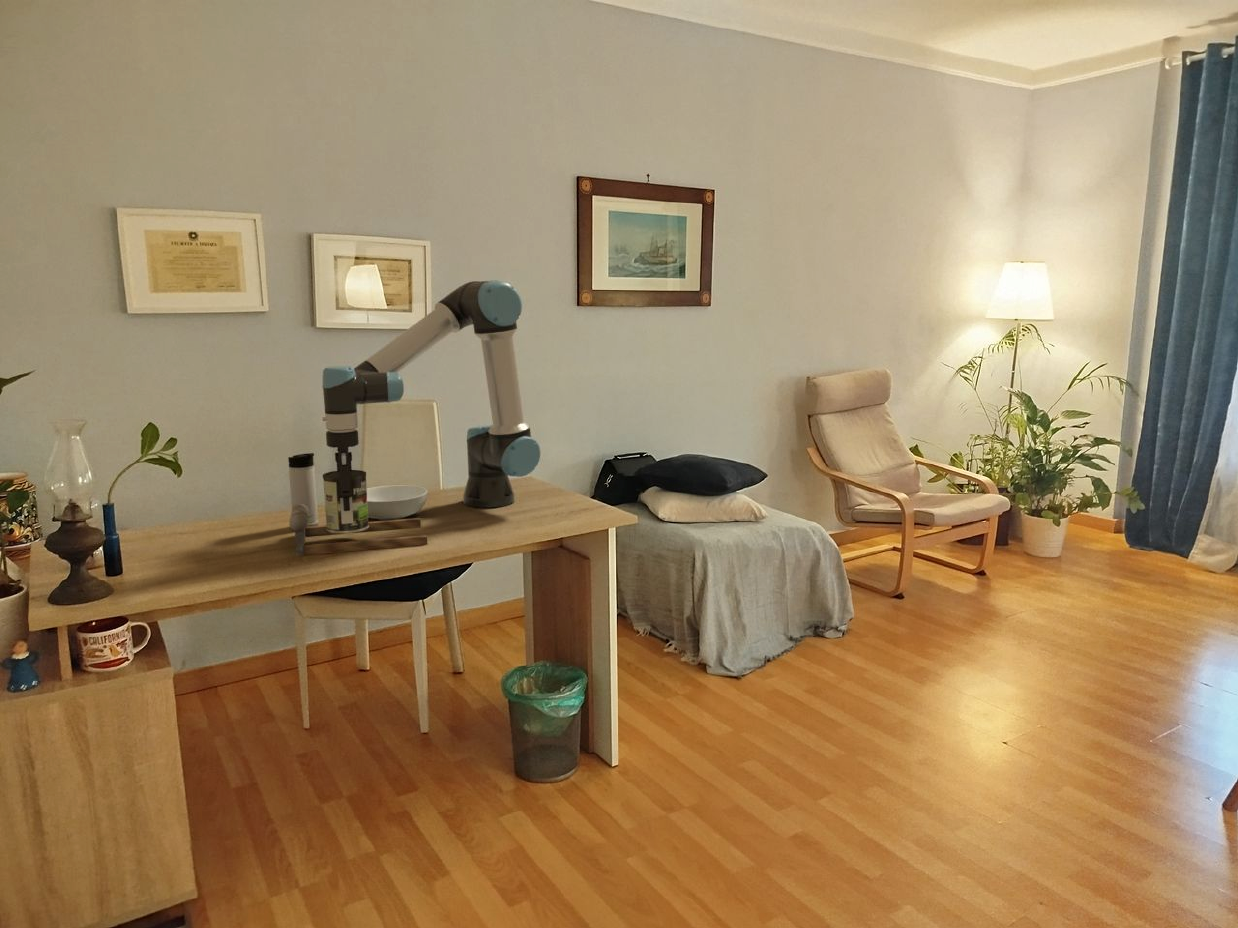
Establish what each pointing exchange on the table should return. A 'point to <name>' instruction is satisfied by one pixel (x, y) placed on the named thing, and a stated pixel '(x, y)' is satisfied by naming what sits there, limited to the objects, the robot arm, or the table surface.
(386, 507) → the serving bowl
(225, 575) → the table surface
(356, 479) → the coffee can
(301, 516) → the bay
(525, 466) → the robot arm
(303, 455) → the travel mug
